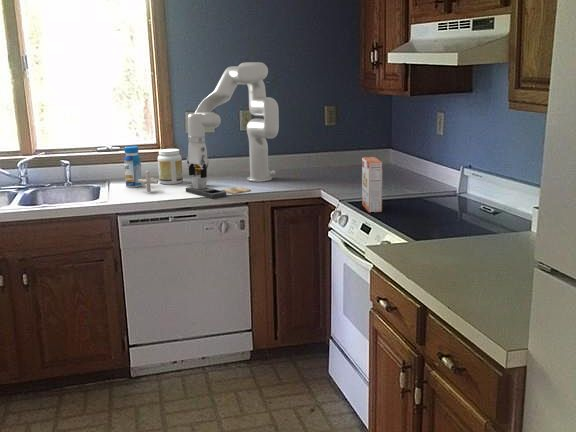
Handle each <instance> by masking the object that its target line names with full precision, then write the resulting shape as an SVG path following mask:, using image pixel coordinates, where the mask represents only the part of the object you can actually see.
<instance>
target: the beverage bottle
mask: <svg viewBox="0 0 576 432" xmlns="http://www.w3.org/2000/svg"><path fill="white" fill-rule="evenodd" d="M123 150H124V154H125V156H124V158H123V162H124V165H123V168H124V174H125V175H124V177H125V178H124V179H125V187H126V188H138V187H142V186H143V185H142V184H141V183H138V180H139V179H142V178H143V175H142V163H141V160H142V159H141V157H140V155H139V146H138V145H127V146H125V147H124V148H123Z"/></svg>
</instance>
